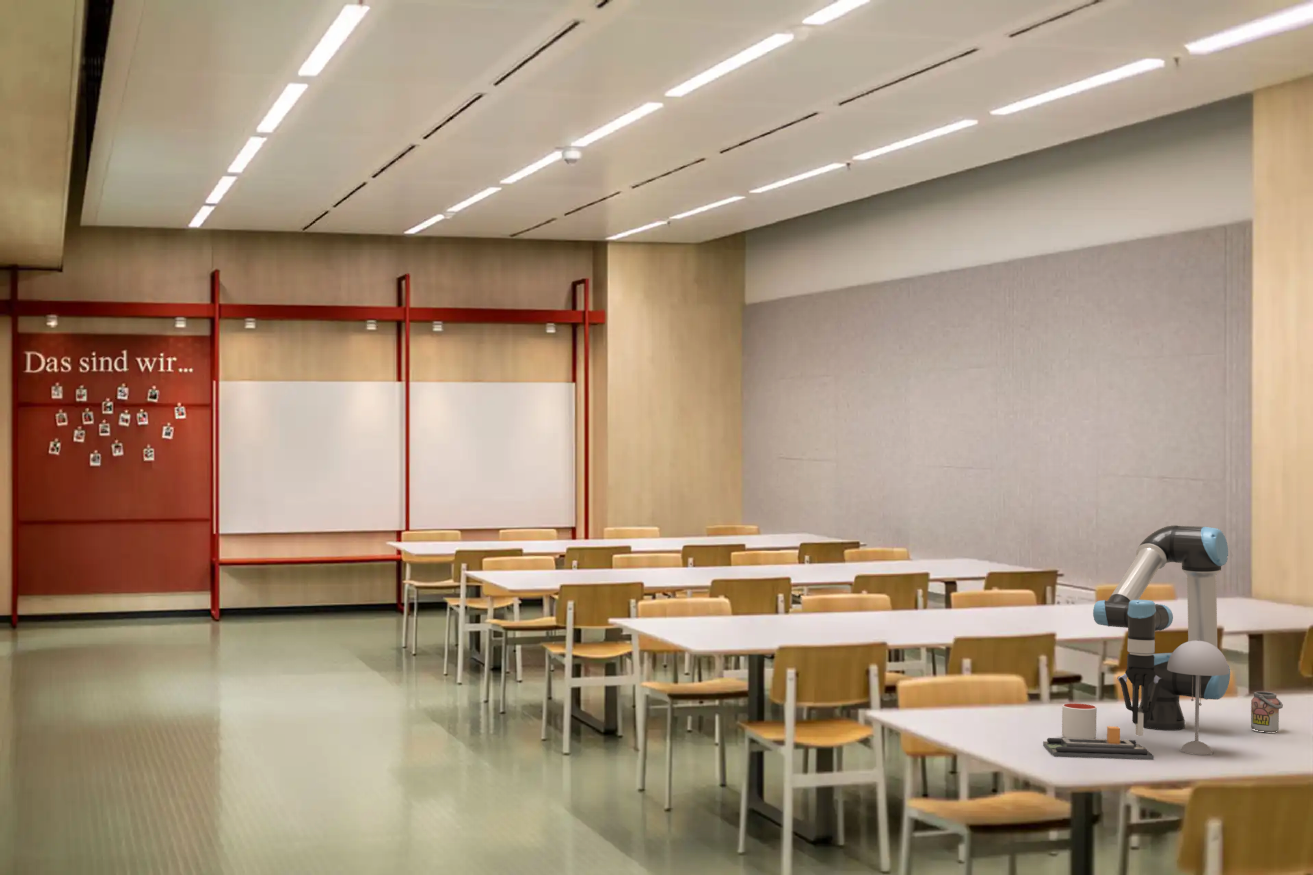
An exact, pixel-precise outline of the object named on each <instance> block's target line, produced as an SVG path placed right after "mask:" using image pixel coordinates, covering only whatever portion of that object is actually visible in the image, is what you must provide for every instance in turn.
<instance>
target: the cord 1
mask: <svg viewBox="0 0 1313 875" xmlns="http://www.w3.org/2000/svg"><path fill="white" fill-rule="evenodd" d="M1061 738H1062V737H1048V738H1047V739H1046V741H1047V742H1049V743H1061ZM1128 740H1129V739H1128ZM1129 741H1130V742H1131V743H1132V744H1134V745H1136V744H1137V740H1135V739H1134V740H1133V739H1132V740H1131V739H1130V740H1129Z"/></svg>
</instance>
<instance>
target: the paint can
mask: <svg viewBox="0 0 1313 875" xmlns="http://www.w3.org/2000/svg"><path fill="white" fill-rule="evenodd" d="M1250 703H1251V704H1250V729H1251V730H1252V729H1255V730H1258V731H1264V732H1276V731H1277V732H1278V731H1279V727H1280V726H1279V725H1280V724H1279V722H1280V721H1279V719H1280V715H1279V714H1280V709H1283V706H1284V704H1283V703H1282V701H1281V700H1280V699H1279V698H1277V693H1275V692H1270V691H1254V692H1253V697H1252V698H1251V702H1250ZM1277 732H1276V733H1277Z"/></svg>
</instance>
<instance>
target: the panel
mask: <svg viewBox="0 0 1313 875" xmlns="http://www.w3.org/2000/svg"><path fill="white" fill-rule="evenodd" d="M1060 738H1061V743H1049V742H1047V740H1045V741H1044V740H1043V742H1042V746H1043V747H1044V748H1045V749H1046V750H1047V751H1048V753H1049V754H1051V756H1053V757H1054V758H1055V757H1056V758H1085V759H1086V758H1087V759H1089V758H1090V759H1114V760H1115V759H1119V760H1120V759H1121V760H1145V761H1146V760H1151V761H1153V760H1155V759H1154V754H1153V753H1151V752H1150V751H1149V750H1148V749H1147V751H1148V754H1121V753H1088V752H1058V751H1056V747H1087V748H1120V749H1146V747H1144V746H1142V745H1141V744H1138V743H1136V745H1134V744H1132V743H1131V742H1130V741H1129V739H1120V743H1121V744H1118V743H1105V741H1107V738H1095V739H1082V738H1064V737H1060Z"/></svg>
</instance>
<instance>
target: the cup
mask: <svg viewBox="0 0 1313 875" xmlns="http://www.w3.org/2000/svg"><path fill="white" fill-rule="evenodd" d="M1097 708H1098V707H1097V706H1096V705H1092V704H1086V703H1073V702H1072V703H1064V704H1062V708H1061V709H1062V710H1061V712H1062V713H1061V714H1062V715H1061V734H1062V738H1082V739H1097V710H1098V709H1097Z"/></svg>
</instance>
